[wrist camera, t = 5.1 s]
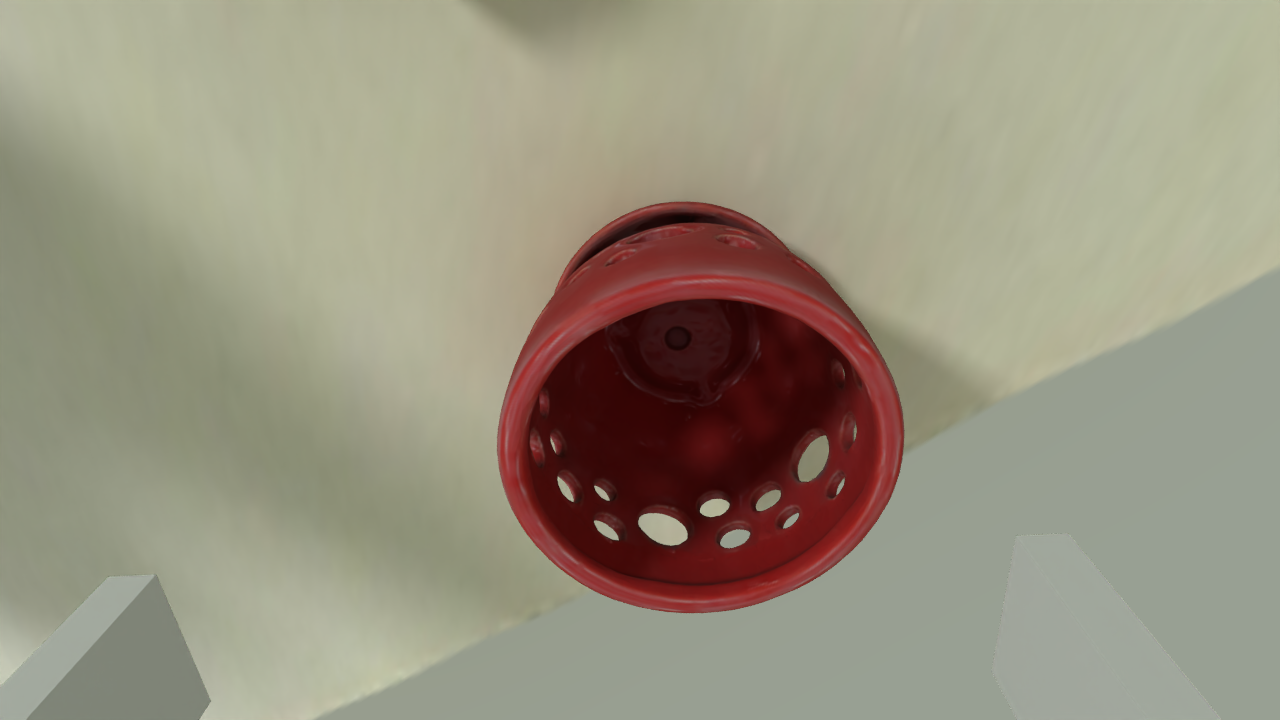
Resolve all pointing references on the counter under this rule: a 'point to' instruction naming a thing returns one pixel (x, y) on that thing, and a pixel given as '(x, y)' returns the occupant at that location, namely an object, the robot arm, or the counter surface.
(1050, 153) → the counter surface
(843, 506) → the plant pot
